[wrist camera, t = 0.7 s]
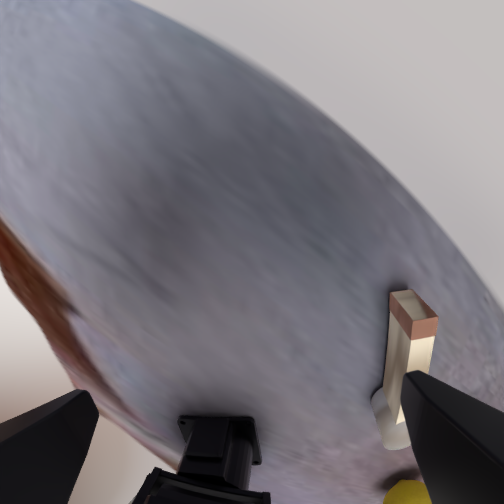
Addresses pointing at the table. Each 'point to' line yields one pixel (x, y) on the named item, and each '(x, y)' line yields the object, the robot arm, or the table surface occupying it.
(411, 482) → the lemon
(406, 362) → the cream brown-tipped bar
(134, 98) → the table surface
